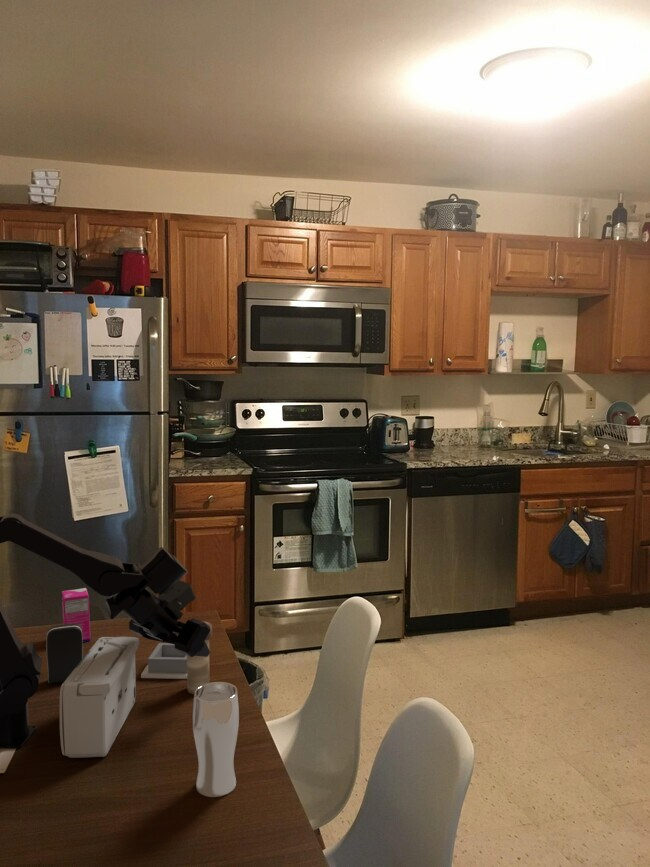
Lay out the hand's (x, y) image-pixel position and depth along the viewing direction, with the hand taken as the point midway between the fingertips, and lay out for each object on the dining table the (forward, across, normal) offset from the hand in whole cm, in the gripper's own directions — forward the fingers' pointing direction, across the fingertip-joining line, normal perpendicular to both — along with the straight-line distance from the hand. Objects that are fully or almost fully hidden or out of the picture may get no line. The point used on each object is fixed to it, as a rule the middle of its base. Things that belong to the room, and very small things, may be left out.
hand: (193, 648), depth 132 cm
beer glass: (-6, -27, +19) cm, 33 cm away
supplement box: (+6, +42, +7) cm, 43 cm away
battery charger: (-3, +25, +16) cm, 30 cm away
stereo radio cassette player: (-7, +1, +20) cm, 22 cm away
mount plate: (+9, +12, +3) cm, 15 cm away
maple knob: (+7, 0, +5) cm, 9 cm away
